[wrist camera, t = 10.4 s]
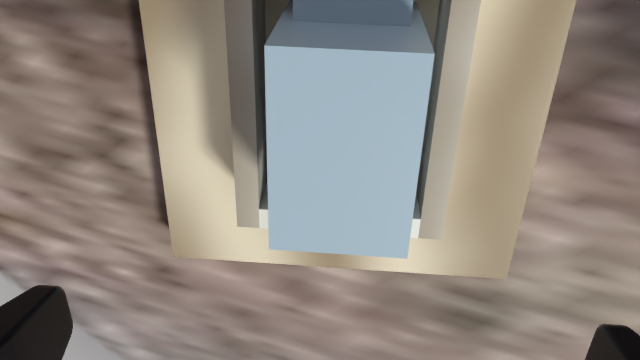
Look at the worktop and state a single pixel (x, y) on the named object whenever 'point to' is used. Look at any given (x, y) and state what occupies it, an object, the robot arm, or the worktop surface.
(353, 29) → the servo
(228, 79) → the chassis pocket
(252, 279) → the worktop surface
